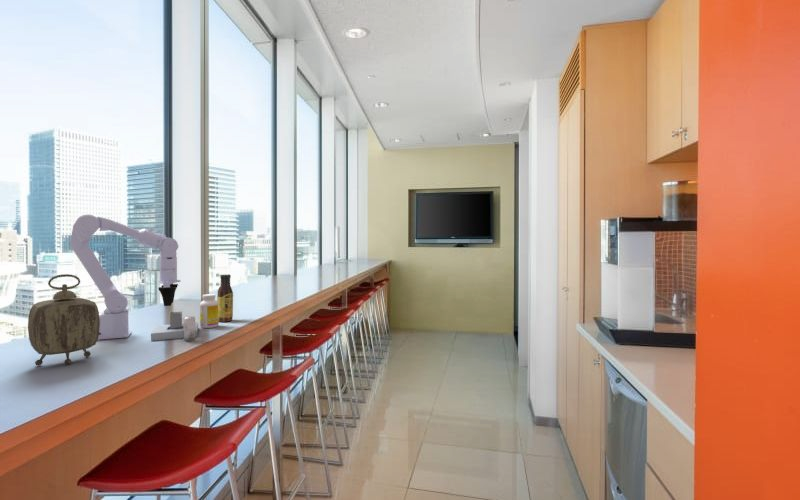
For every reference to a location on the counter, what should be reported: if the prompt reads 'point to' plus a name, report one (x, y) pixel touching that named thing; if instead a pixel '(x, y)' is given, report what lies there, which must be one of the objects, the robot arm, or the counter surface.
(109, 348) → the counter surface
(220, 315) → the sauce bottle
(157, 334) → the bore block
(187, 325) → the round bit
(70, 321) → the tabletop clock
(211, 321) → the supplement bottle
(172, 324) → the square bit
